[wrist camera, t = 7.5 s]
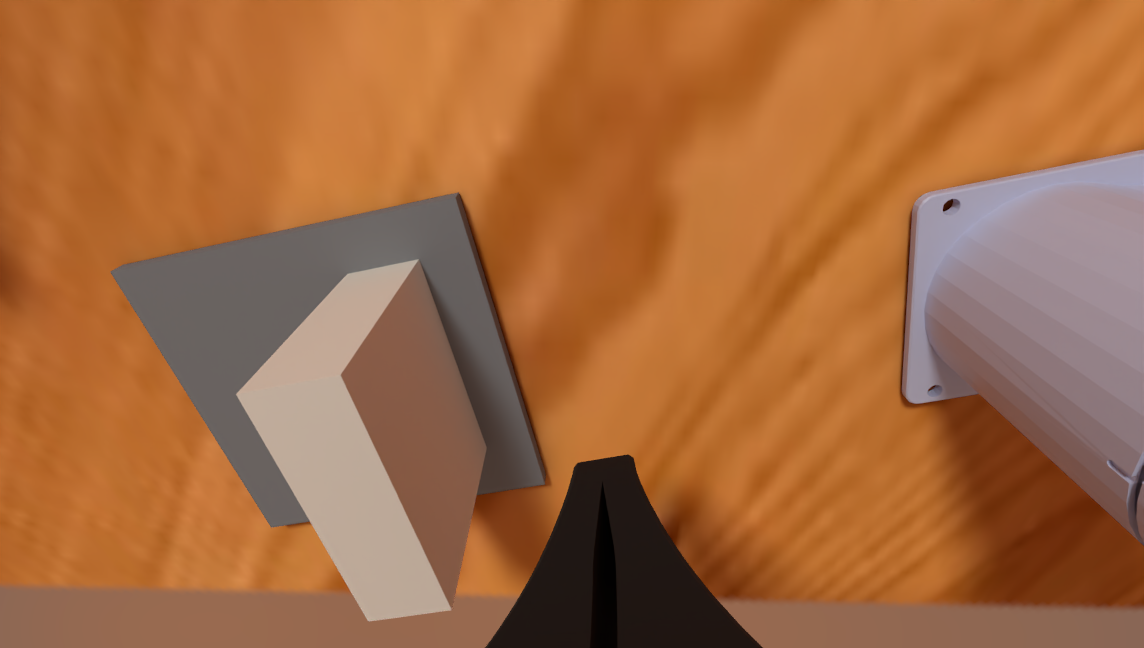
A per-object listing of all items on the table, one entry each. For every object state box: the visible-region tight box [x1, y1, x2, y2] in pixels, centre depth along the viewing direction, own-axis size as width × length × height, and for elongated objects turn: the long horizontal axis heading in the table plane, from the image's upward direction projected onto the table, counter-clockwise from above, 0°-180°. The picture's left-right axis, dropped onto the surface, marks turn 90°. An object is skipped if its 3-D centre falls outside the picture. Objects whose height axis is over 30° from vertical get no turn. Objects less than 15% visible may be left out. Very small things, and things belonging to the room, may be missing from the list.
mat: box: [111, 193, 546, 527], centre depth 21 cm, size 12×12×1 cm
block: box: [236, 259, 487, 621], centre depth 18 cm, size 2×8×7 cm, turn 12°
